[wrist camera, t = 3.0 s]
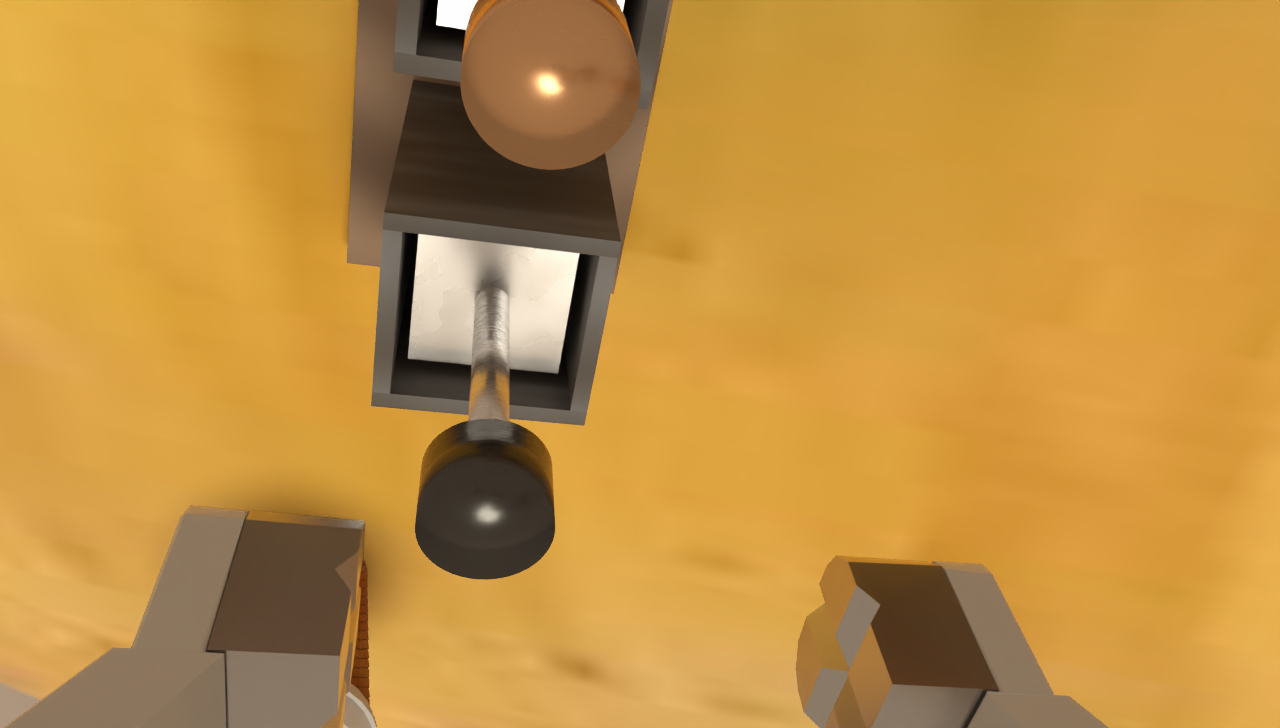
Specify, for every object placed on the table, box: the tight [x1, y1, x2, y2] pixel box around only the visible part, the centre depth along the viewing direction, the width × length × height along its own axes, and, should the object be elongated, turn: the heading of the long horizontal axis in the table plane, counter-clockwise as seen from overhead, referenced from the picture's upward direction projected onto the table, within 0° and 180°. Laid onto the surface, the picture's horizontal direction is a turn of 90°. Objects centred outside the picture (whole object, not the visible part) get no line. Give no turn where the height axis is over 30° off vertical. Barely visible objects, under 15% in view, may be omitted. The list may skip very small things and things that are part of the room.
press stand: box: [347, 0, 673, 425], centre depth 38 cm, size 22×12×14 cm, turn 169°
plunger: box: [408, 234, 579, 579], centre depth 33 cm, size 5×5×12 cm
